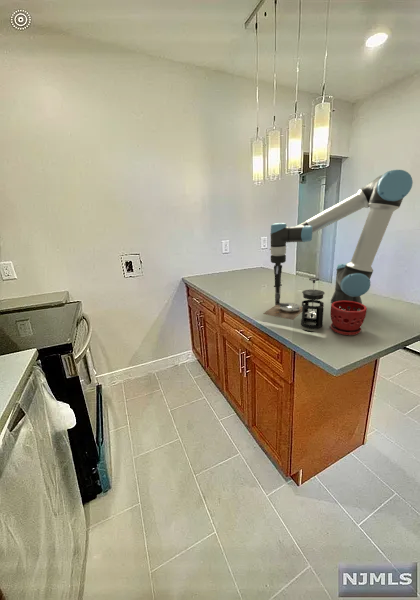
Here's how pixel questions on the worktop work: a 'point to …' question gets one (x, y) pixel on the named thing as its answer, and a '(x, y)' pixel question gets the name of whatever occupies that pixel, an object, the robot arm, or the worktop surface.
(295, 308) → the silver dish with post
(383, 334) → the worktop surface
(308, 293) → the french press
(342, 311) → the plant pot
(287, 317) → the board
